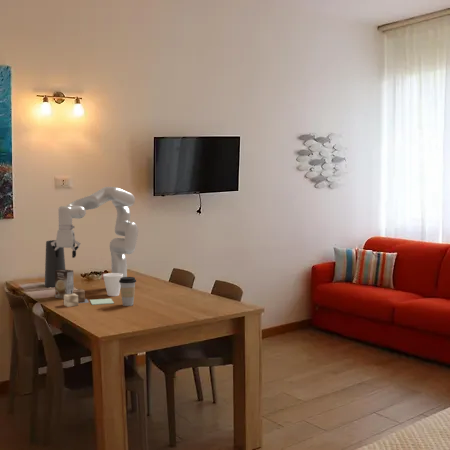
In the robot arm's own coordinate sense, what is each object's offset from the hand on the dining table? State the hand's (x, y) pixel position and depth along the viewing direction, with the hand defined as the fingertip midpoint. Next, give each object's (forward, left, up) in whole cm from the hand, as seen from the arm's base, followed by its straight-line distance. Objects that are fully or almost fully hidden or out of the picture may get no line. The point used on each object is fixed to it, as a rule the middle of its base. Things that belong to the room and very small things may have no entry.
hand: (65, 257), depth 350 cm
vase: (+4, -43, -24) cm, 49 cm away
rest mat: (-18, +17, -24) cm, 35 cm away
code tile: (-6, +11, -24) cm, 27 cm away
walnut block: (-6, +11, -24) cm, 27 cm away
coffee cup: (-31, +28, -24) cm, 48 cm away
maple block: (-1, +20, -24) cm, 32 cm away
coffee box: (+1, -3, -24) cm, 24 cm away
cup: (-27, -1, -24) cm, 36 cm away
